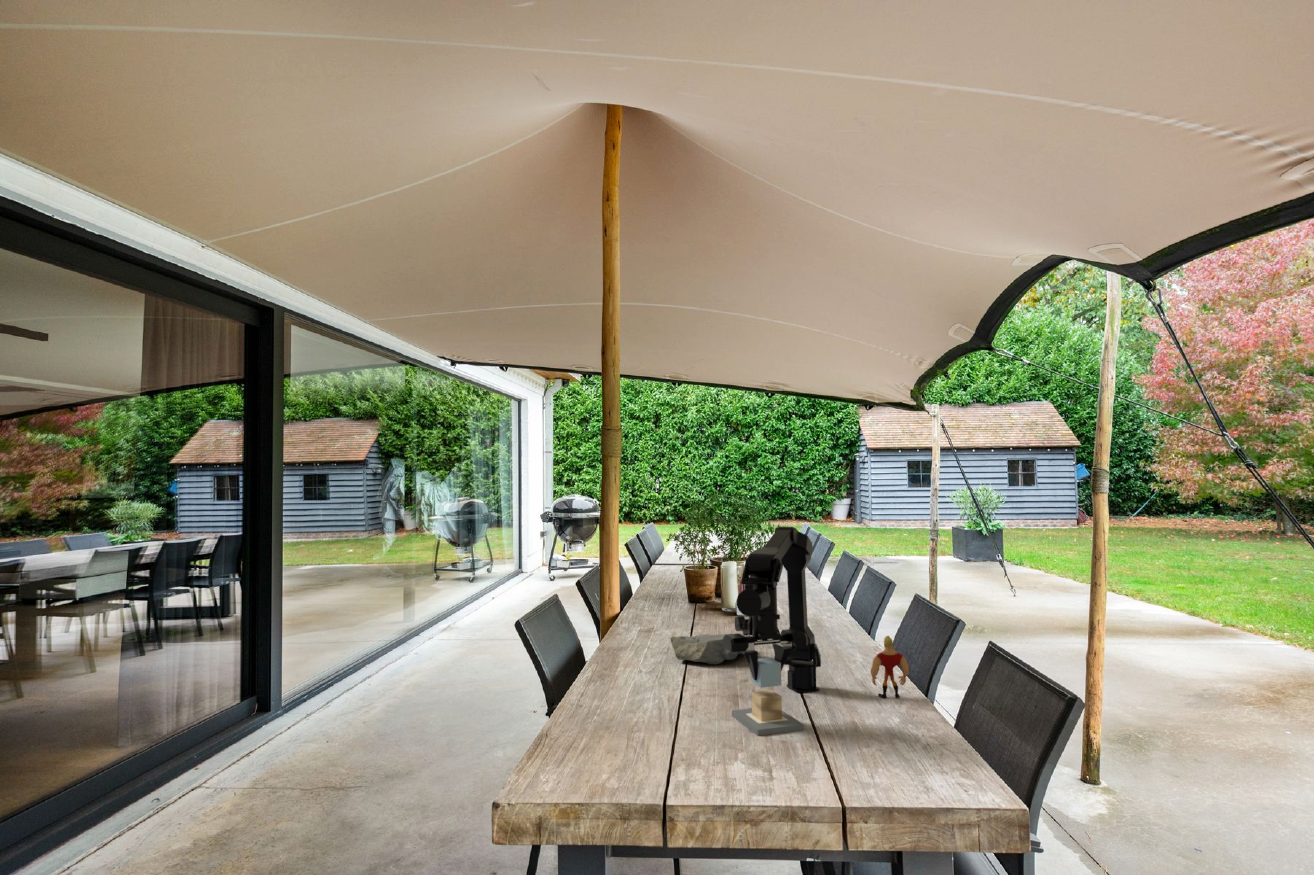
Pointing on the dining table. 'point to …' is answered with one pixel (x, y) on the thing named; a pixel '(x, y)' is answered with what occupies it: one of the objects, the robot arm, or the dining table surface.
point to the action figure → (889, 666)
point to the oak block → (766, 705)
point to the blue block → (768, 673)
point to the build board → (767, 723)
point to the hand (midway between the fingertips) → (765, 678)
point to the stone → (702, 648)
